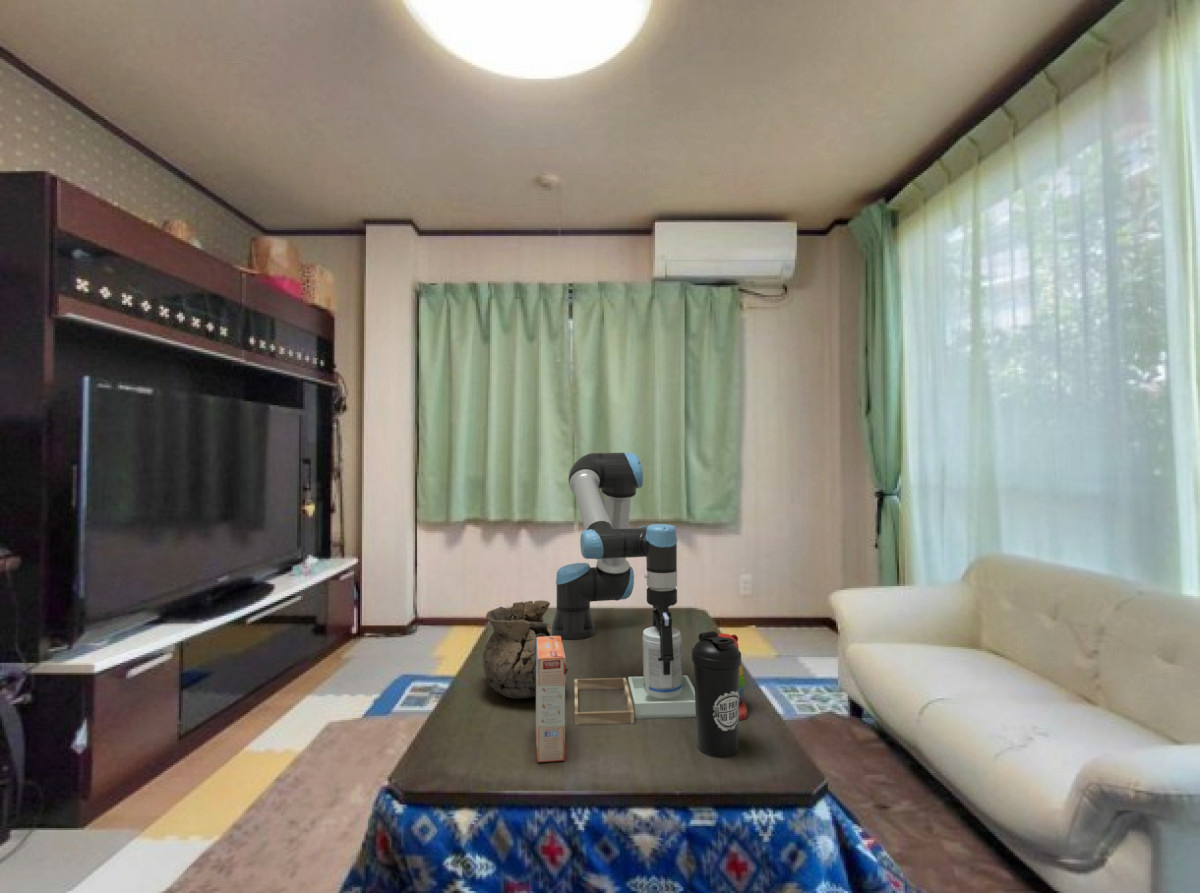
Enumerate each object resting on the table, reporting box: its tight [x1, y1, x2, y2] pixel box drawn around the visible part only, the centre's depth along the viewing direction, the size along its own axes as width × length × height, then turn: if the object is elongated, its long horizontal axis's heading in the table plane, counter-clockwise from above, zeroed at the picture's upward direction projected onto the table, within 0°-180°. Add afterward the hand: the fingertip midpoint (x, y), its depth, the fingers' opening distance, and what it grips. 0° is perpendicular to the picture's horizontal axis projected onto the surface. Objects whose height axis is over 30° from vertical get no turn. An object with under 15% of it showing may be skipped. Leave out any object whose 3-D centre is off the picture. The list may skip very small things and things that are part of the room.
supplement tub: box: [642, 626, 683, 698], centre depth 135 cm, size 10×10×15 cm
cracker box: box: [535, 635, 566, 763], centre depth 116 cm, size 14×6×21 cm, turn 7°
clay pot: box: [482, 599, 569, 700], centre depth 142 cm, size 25×24×22 cm
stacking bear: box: [717, 632, 748, 721], centre depth 132 cm, size 11×10×18 cm
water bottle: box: [691, 630, 742, 759], centre depth 115 cm, size 10×10×23 cm
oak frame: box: [573, 677, 635, 726], centre depth 134 cm, size 20×14×2 cm
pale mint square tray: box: [627, 674, 696, 720], centre depth 135 cm, size 16×16×4 cm
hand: (662, 678), depth 135 cm, fingers closed on supplement tub, 9 cm apart
